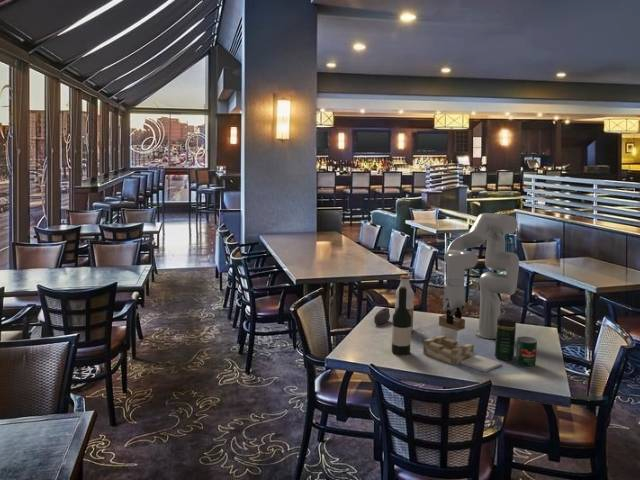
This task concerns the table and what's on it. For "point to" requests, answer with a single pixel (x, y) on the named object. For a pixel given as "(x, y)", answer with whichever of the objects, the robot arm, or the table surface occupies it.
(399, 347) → the wine bottle
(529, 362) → the canned tomato
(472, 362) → the ceramic coaster
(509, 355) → the coffee jar
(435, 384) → the table surface
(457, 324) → the wooden block
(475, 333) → the robot arm
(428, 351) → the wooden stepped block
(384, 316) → the perforated stone tool
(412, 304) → the fruit juice
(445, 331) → the white cup
